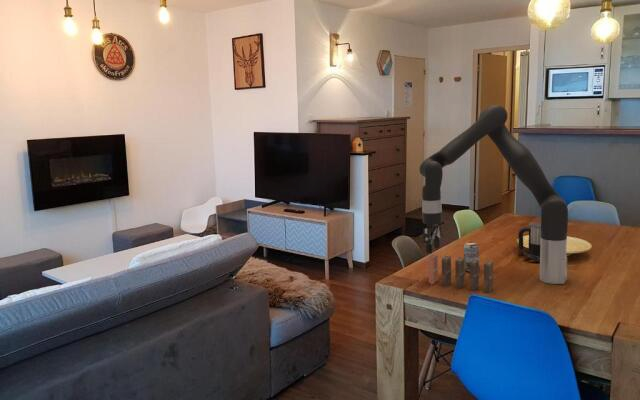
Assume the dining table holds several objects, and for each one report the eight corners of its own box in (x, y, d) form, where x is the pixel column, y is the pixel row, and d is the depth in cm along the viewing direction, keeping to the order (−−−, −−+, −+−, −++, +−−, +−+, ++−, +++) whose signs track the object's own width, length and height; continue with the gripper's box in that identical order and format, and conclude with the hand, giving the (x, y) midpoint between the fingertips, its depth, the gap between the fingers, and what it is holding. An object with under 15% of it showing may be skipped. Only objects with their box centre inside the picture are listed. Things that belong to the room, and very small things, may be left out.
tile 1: (493, 288, 195) (493, 261, 193) (489, 292, 191) (489, 264, 189) (487, 287, 196) (487, 260, 194) (484, 292, 192) (483, 264, 190)
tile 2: (478, 286, 198) (478, 259, 196) (475, 290, 194) (474, 263, 192) (473, 285, 199) (473, 258, 197) (469, 289, 195) (469, 262, 193)
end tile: (438, 280, 207) (437, 254, 205) (433, 284, 203) (433, 258, 201) (433, 280, 208) (432, 254, 206) (428, 284, 204) (428, 257, 202)
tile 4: (451, 282, 204) (451, 256, 202) (447, 286, 200) (446, 259, 198) (446, 282, 205) (445, 255, 203) (441, 285, 201) (441, 259, 199)
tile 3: (464, 284, 201) (464, 257, 199) (460, 288, 197) (460, 261, 195) (459, 283, 202) (459, 257, 200) (455, 287, 198) (455, 260, 196)
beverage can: (469, 273, 213) (469, 246, 211) (460, 269, 220) (460, 242, 218) (482, 271, 215) (482, 244, 213) (473, 267, 222) (473, 240, 220)
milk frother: (545, 252, 238) (546, 221, 235) (560, 262, 222) (561, 229, 220) (514, 254, 238) (515, 223, 235) (528, 264, 222) (528, 231, 220)
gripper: (434, 214, 193) (435, 256, 195) (447, 207, 204) (448, 247, 207) (416, 213, 197) (417, 254, 199) (429, 207, 208) (430, 245, 211)
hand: (433, 250), depth 203 cm, fingers open, 8 cm apart
